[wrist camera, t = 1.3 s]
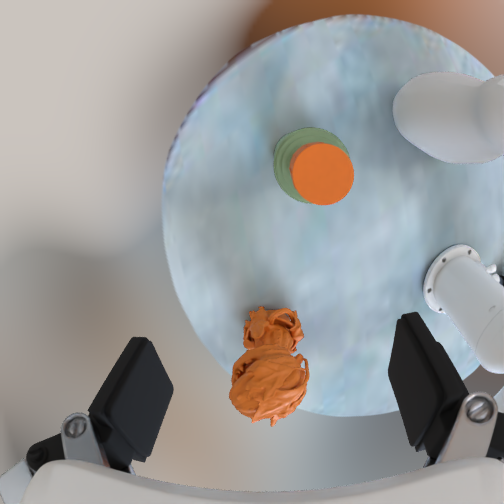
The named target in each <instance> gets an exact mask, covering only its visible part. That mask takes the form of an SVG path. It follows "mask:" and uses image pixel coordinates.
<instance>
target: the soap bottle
mask: <svg viewBox="0 0 504 504" xmlns="http://www.w3.org/2000/svg"><path fill="white" fill-rule="evenodd" d="M392 113H393V117H394V122H395V126H396V127H397V129H398V130H399V132H400V134H401V135H402V136H403V137H404V138H406V139H407V140H408V141H409V142H410V143H412V144H413V145H415V146H416V147H418V148H419V149H421V150H422V151H424V152H425V153H427V154H428V155H429V156H432V157H434V158H436V159H439V160H441V161H443V162H448V163H453V164H483V163H486V162H489V161H493V160H495V159H496V158H498V157H500V156H502V155H503V156H504V75H499V76H497V77H494V78H491V79H489V80H486V81H482V80H480V79H477V78H474V77H472V76H469V75H466V74H461V73H455V72H431V73H423V74H421V75H419V76H416V77H414V78H412V79H411V80H410V81H408V82H407V83H406V84H405V85H404V86H403V87H402V88H401V89H400V90H399V91H398V92H397V94H396V96H395V98H394V100H393V111H392Z"/></svg>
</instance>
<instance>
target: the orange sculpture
mask: <svg viewBox="0 0 504 504" xmlns="http://www.w3.org/2000/svg"><path fill="white" fill-rule="evenodd" d="M258 308H260V309H259V310H258V311H256V312H255V311H254V310H253V311H250V312H249V314H250V315H249V316H250V318H251V321H248V320H245V324H246V325H245V326H244V338H243V340H244V342H243V344H244V347H245V348H246V349H248V350H247V351H246V352H245V354H243V355H242V356H241V357H240V358H239V359H238V360H237V361H236V362H235V363H234V365H233V375H232V388H231V390H230V393H229V398H230V400H231V401H232V404H233V405H234V406H235V408H236V409H237V410H239V412H240V413H241V414H243V415H245V416H247V417H250V418H251V419H252V423H254V422H256V421H260V420H261V419H265V418H271V417H272V418H271V419H270V420H271V426H274V425H275V424H276V421H277V420H278V419H280V418H285V417H286V416H287V415H289V414H291V413H292V412H294V411H295V409H296V407H297V406H298V405H299V404H300V403H301V401H302V399H303V397H304V396H305V394H306V386H307V381H308V380H309V368H308V361H307V359H305V358H303V356H302V355H301V354H298V355H297V356H295V357H293V356H292V355H290V354H292V353H294V352H295V351H296V350H297V349H296V345H297V343H298V341H300V340H301V339H302V338H303V337H304V334H303V331H302V329H301V323H300V321H299V319H298V318H297V312H296V311H295V312H294V311H291V310H290V309H288V308H282V309H279V310H267V311H266V310H265V309H264V307H262V306H260V307H258ZM293 312H294V313H293ZM285 313H286V314H288V316H289V317H290V319H289V317H288V316H287V315H286V314H285ZM290 320H291V321H290ZM249 349H250V350H249ZM303 360H304V361H305V369H304V368H300V367H301V365H300V364H301V363H302V361H303ZM304 370H306V375H305V371H304Z"/></svg>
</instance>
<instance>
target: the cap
mask: <svg viewBox="0 0 504 504" xmlns="http://www.w3.org/2000/svg"><path fill="white" fill-rule="evenodd" d="M289 170H290V175H291V178H292V180H293V181H292V182H293V185H294V187H295V189H296V190H297V191H298V193H299V194H300V195H301V196H302V197H303V198H304V199H306V200H307V201H309V202H311V203H313V204H317V205H330V204H334V203H336V202H338V201H340V200H341V199H343V198H344V197H345V196H346V195H347V193H348V192H349V191H350V189H351V187H352V184H353V180H354V170H353V166H352V163H351V161H350V159H349V157H348V156H347V155H346V153H345V152H344V151H342V150H341V149H340V148H339V147H336V146H334V145H331V144H325V143H324V142H313V143H308V144H305V145H303V146H301V147H300V148H299V149H297V151H296V152H295V153H294V154H293V156H292V158H291V161H290V168H289Z"/></svg>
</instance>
